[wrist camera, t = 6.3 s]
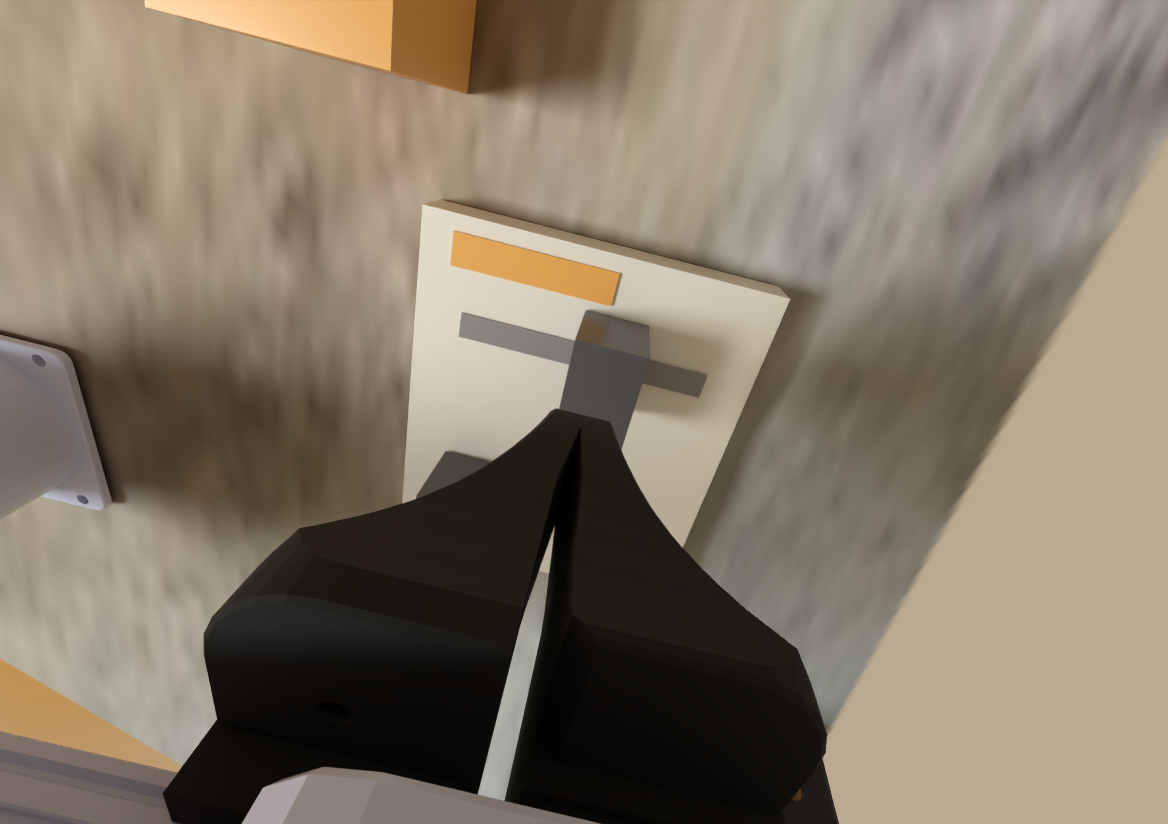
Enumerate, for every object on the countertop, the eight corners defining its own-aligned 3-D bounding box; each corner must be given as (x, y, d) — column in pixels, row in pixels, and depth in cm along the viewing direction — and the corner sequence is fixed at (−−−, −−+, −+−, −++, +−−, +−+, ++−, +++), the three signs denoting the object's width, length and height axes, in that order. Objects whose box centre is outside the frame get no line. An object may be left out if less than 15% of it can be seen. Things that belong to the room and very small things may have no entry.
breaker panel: (414, 512, 22) (398, 538, 21) (440, 199, 16) (421, 204, 15) (658, 573, 22) (659, 602, 21) (778, 286, 16) (791, 300, 15)
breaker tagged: (565, 395, 17) (552, 435, 14) (585, 309, 15) (575, 339, 13) (623, 409, 17) (620, 453, 15) (649, 325, 15) (650, 358, 13)
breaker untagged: (438, 513, 20) (410, 563, 17) (445, 450, 18) (415, 496, 16) (488, 526, 20) (466, 577, 18) (499, 464, 18) (477, 511, 16)
